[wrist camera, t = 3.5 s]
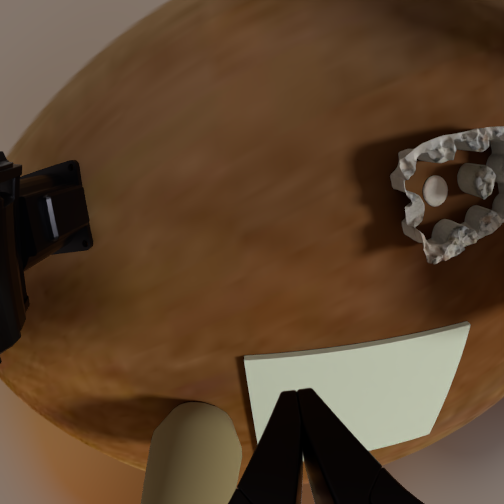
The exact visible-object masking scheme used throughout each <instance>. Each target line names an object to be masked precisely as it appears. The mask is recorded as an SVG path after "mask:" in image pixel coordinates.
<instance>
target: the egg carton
mask: <svg viewBox="0 0 504 504" xmlns="http://www.w3.org/2000/svg"><path fill="white" fill-rule="evenodd" d="M489 141H490V144H491V149H492V154H491V155H490V156H489V157H488V160H487V163H486V166H485V165H479V164H472V163H465V164H463V165H462V166H461V167H460V169H459V172H458V174H457V181H458V185H459V187H460V189H461V190H462V191H463V192H465V193H468V194H471V195H474V196H477V197H481V198H482V199H486V198H487V197H488V196H489V195H491V194H492V191H493V187H494V182H497V183H498V188H499V194H498V195H497V196H496V197H495V199H494V201H493V204H492V210H490V209H487V208H484V207H481V206H478V205H474V206H472V207H470V208H469V209H468V211H467V213H466V216H465V221H464V222H463V223H462V224H458V223H456V222H454V221H451V220H448V219H442V220H440V221H439V222H438V223H437V224H436V225H435V226H434V228H433V231H432V237H431V238H430V239H428V240H426V238H425V236H424V235H423V234H422V233H421V232H420V231H419V230H418V229H416V228H415V227H416V226H418V225H419V224H420V223H421V221H422V220H423V215H424V203H423V201H422V199H421V198H420V196H418V195H417V194H415V193H412V192H409V191H406V189H405V184H404V183H405V180H409V178H410V176H411V175H413V174H414V172H415V170H416V167H415V165H416V161H417V159H419V160H421V161H427V162H434V163H443V162H446V161H448V160H454V156H455V152H456V149H457V150H468V151H477V152H483V151H485V150H486V149H487V148H488V147H489ZM398 156H399V163H398V166H397V168H396V169H395V171H393V172H392V173H391V175H390V179H391V183H392V187H393V189H396V190H399V191H402V192H405V193H406V195H407V197H408V198H409V199H411V203H409V204H408V205H407V206H405V214H406V218H405V219H404V220H403V221H402V227H403V232H404V234H405V235H407V236H408V237H410V238H412V239H413V240H415V241H417V242H419V243H423V246H424V252H425V254H426V258H427V262H428V263H433V264H437V263H439V262H440V261H446V260H448V259H450V258H451V257H454V256H457V255H458V254H460V253H461V252H462V251H464V250H465V248H464V247H465V246H468V245H470V244H474V243H476V242H477V240H478V239H480V238H482V237H484V236H486V235H489V234H492V233H493V232H494V231H495V230H496V229H498V228H499V227H500V226H501V224H502V223H503V222H504V127H486V128H479V129H473V130H470V131H465V132H461V133H455V134H450V135H443V136H440V137H437V138H435V139H432V140H429V141H427V142H424V143H422V144H421V145H419V146H418V147H416V148H415V149H406V150H403V151H400V152H399V153H398ZM447 192H448V187H447V184H446V182H445V180H444V179H443V178H442V177H440V176H436V175H434V176H431V177H429V178H428V179H427V180H426V182H425V184H424V187H423V196H424V199H425V201H426V202H427V203H428V204H429V205H431V206H433V207H434V206H439V205H441V204H442V203H443V202H444V201H445V199H446V197H447Z"/></svg>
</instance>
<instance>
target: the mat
mask: <svg viewBox="0 0 504 504" xmlns="http://www.w3.org/2000/svg"><path fill="white" fill-rule="evenodd" d="M470 325H471V324H470V323H469V322H468V321H466V322H462V323H458V324H454V325H450V326H446V327H442V328H437V329H433V330H429V331H424V332H419V333H414V334H410V335H405V336H399V337H394V338H389V339H383V340H377V341H372V342H365V343H359V344H353V345H346V346H339V347H331V348H323V349H315V350H306V351H297V352H286V353H275V354H262V355H247V356H244V364H245V370H246V377H247V383H248V389H249V396H250V402H251V408H252V414H253V420H254V426H255V432H256V438H257V444H258V443H259V440H260V438H261V436H262V434H263V432H264V430H265V427H266V425H267V423H268V421H269V418H270V416H271V414H272V412H273V409H274V407H275V405H276V402H277V400H278V398H279V395H280V393H281V392H282V391H289V390H296V392H297V390H298V389H304V388H312V389H313V390H314V391H315V392H316V393H317V394H318V395H319V396H320V398H321V399H322V400H323V401H324V402H325V403H326V405H327V406H328V407H329V408H330V409H331V410H332V411H333V412H334V414H335V415H336V416H337V417H338V418H339V419H340V420H341V421H342V423H343V424H344V425H345V426H346V427H347V428H348V429H349V430H350V432H351V433H352V434H353V435H354V436H355V437H356V438H357V439H358V440H359V441H360V443H361V444H362V445H363V446H364V447H365V448H366V449H367V450H368V451H369V450H374V449H378V448H382V447H386V446H390V445H394V444H398V443H401V442H405V441H408V440H412V439H415V438H418V437H421V436H424V435H427V434H429V433H430V431H431V429H432V427H433V425H434V423H435V421H436V419H437V417H438V414H439V412H440V410H441V408H442V405H443V403H444V401H445V398H446V396H447V393H448V391H449V388H450V386H451V383H452V381H453V378H454V375H455V373H456V370H457V367H458V364H459V361H460V358H461V355H462V352H463V349H464V346H465V342H466V339H467V336H468V332H469V329H470ZM303 461H304V458H303Z"/></svg>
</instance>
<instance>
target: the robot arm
mask: <svg viewBox="0 0 504 504" xmlns="http://www.w3.org/2000/svg"><path fill="white" fill-rule="evenodd" d="M71 165H73V166H74V169H73V170H72V169H71ZM20 175H22V165H16V164H13V162H9V161H8V160H7V159H6V157H5V155H4V153H3V152H2V151H0V354H1V353H3V352H4V351H6V350H7V349H9V348H10V347H12V346H13V345H14V344H15V343H16V342H17V341H18V340H19V339H20V337H21V333H20V331H21V329H22V327H23V324H24V322H25V320H26V314H25V313H26V311H27V309H28V307H29V305H30V303H29V297H28V296H27V293H26V286H25V279H24V271H26V270H27V269H29V268H30V267H32V266H34V265H35V264H37V263H38V262H40V261H41V260H43V259H45V258H46V257H48V256H49V255H52V254H60V253H68V252H77V251H85V250H89V249H90V248H91V247H92V246H93V239H92V234H91V230H90V225H89V216H88V211H87V205H86V200H85V194H84V188H83V187H82V181H81V174H80V167H79V163H78V162H77V161H76V160H70V161H67V162H64V163H60V164H57V165H54V166H51V167H48V168H45V169H42V170H39V171H36V172H33V173H30V174H27V175H25V176H22V177H20ZM85 240H86V241H87V243H88V245H86V244H85ZM0 363H1V358H0ZM303 458H304V463H305V467H306V471H307V475H308V479H309V483H310V486H311V490H312V494H313V498H314V502H315V504H424V503H423V502H421V501H420V500H419V499H417V498H416V497H415V496H414V495H412V494H411V493H410V492H409V491H407V490H406V489H405V488H404V487H403V486H402V485H401V484H400V483H399V482H397V480H396V479H394V478H393V477H392V476H391V474H390V473H389V472H388V471H387V470H386V469H385V468H382V465H381V464H380V463H379V462H378V461H377V460H376V459H375V458H374V457H373V456H372V454H371V453H370V452H369V451H368V450H367V449H366V448H365V447H364V446H363V445H362V444H361V443H360V441H359V440H358V439H357V438H356V437H355V436H354V435H353V434H352V433H351V432H350V430H349V429H348V428H347V427H346V426H345V425H344V424H343V423H342V421H341V420H340V419H339V418H338V417H337V416H336V415H335V414H334V412H333V411H332V410H331V409H330V408H329V407H328V406H327V405H326V403H325V402H324V401H323V400H322V399H321V398H320V396H319V395H318V394H317V393H316V392H315V391H314V390H313V389H312V388H304V389H298V390H297V392H296V390H289V391H282V392H281V393H280V395H279V398H278V400H277V402H276V405H275V407H274V409H273V412H272V414H271V416H270V418H269V421H268V423H267V425H266V427H265V430H264V432H263V434H262V436H261V438H260V440H259V443H258V445H257V447H256V449H255V451H254V453H253V455H252V457H251V460H250V462H249V464H248V466H247V468H246V470H245V472H244V474H243V476H242V478H241V480H240V482H239V484H238V486H237V488H238V489H235V491H234V493H233V495H232V497H231V499H230V501H229V502H228V504H301V498H302V480H303Z"/></svg>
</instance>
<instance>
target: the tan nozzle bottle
mask: <svg viewBox="0 0 504 504" xmlns="http://www.w3.org/2000/svg"><path fill="white" fill-rule="evenodd" d="M241 460H242V448H241V445H240V442H239V439H238V436H237V434H236V431H235V428H234V425H233V423H232V420H231V418H230V417H229V416H228V415H227V413H226V412H224V411H223V410H221V409H219V408H218V407H216V406H213V405H209V404H206V403H199V402H188V403H184V404H180V405H179V406H177V407H176V408H174V409H173V410H172V411H171V412H170V414H169V415H168V416H167V417H166V418H165V419H164V420H163V421H162V422H161V424H160V425H159V426H158V427H157V428H156V429H155V430H154V433H153V436H152V439H151V445H150V450H149V456H148V462H147V467H146V473H145V480H144V486H143V493H142V500H141V504H228V502H229V501H230V499H231V497H232V495H233V493H234V491H235V489H236V486H237V481H238V475H239V470H240V465H241Z"/></svg>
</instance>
